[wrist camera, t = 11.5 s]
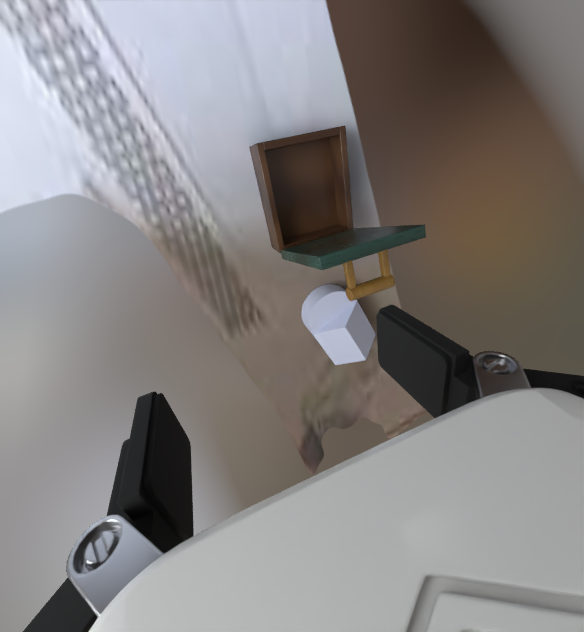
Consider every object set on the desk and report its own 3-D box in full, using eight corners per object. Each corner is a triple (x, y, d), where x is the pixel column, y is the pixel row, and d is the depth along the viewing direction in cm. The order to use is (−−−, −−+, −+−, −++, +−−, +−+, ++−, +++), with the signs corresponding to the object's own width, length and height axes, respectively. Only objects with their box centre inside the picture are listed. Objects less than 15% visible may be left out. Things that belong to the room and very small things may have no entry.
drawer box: (249, 146, 34) (256, 143, 31) (331, 129, 37) (345, 125, 33) (272, 247, 41) (279, 253, 37) (340, 227, 43) (353, 231, 40)
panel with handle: (318, 257, 24) (331, 315, 26) (425, 224, 27) (429, 280, 29) (280, 249, 37) (290, 290, 38) (355, 228, 39) (361, 267, 41)
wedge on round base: (365, 325, 53) (335, 273, 46) (387, 343, 47) (357, 287, 40) (327, 354, 53) (291, 307, 46) (344, 376, 47) (307, 325, 40)
